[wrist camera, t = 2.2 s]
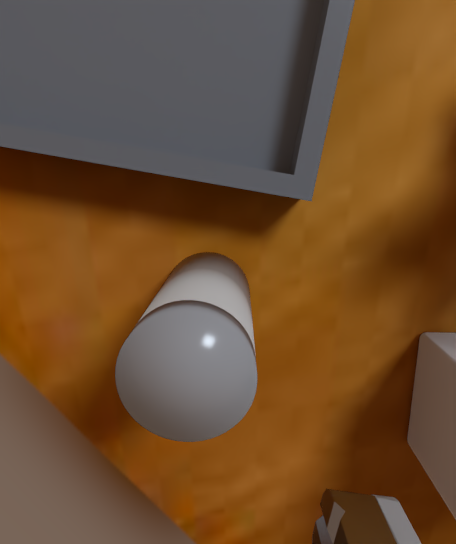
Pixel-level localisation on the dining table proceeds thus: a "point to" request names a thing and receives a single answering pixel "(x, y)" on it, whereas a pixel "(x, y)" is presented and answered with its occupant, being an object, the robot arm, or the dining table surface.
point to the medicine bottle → (436, 412)
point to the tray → (175, 86)
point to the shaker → (192, 353)
